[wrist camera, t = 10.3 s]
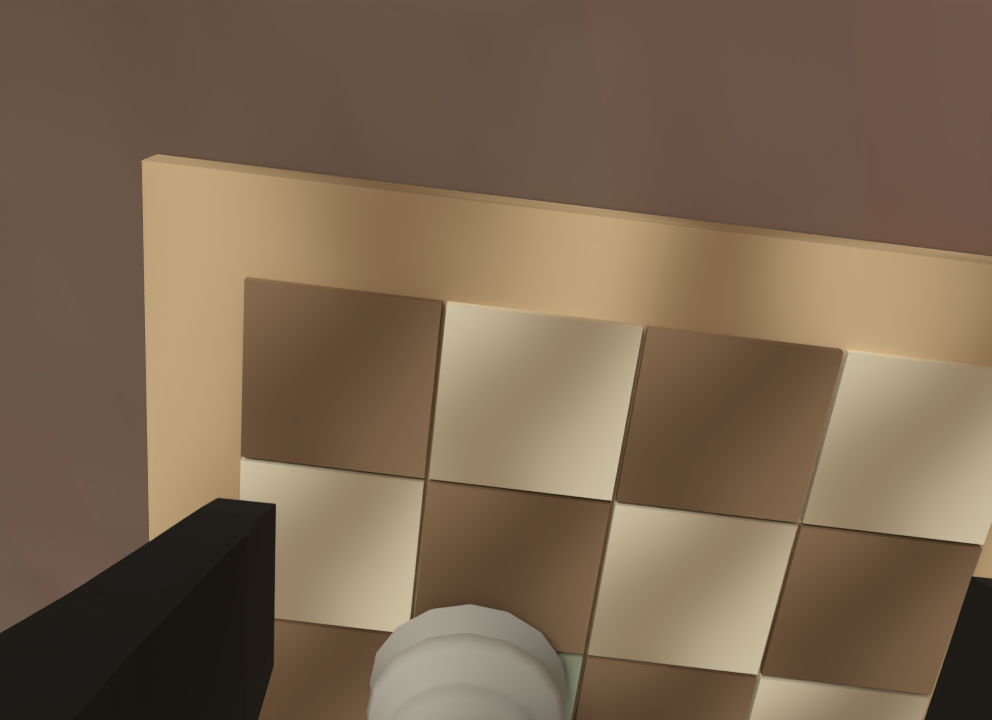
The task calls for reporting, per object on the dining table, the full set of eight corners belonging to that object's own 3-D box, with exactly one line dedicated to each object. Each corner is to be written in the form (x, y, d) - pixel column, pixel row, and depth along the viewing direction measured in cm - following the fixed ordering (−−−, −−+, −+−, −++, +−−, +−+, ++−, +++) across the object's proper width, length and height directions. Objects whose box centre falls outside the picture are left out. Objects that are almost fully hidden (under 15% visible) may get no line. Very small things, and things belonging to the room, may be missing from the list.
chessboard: (1151, 275, 19) (1183, 290, 18) (886, 968, 26) (900, 1004, 25) (158, 154, 18) (137, 161, 17) (167, 886, 26) (153, 920, 25)
